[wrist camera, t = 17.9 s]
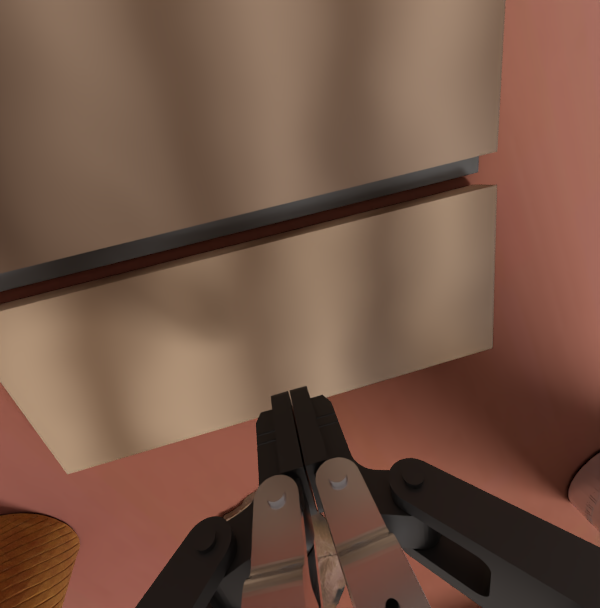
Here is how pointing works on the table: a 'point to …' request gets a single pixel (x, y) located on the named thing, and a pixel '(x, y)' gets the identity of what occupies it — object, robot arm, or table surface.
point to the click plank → (251, 326)
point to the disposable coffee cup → (35, 560)
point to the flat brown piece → (326, 556)
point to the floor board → (226, 117)
